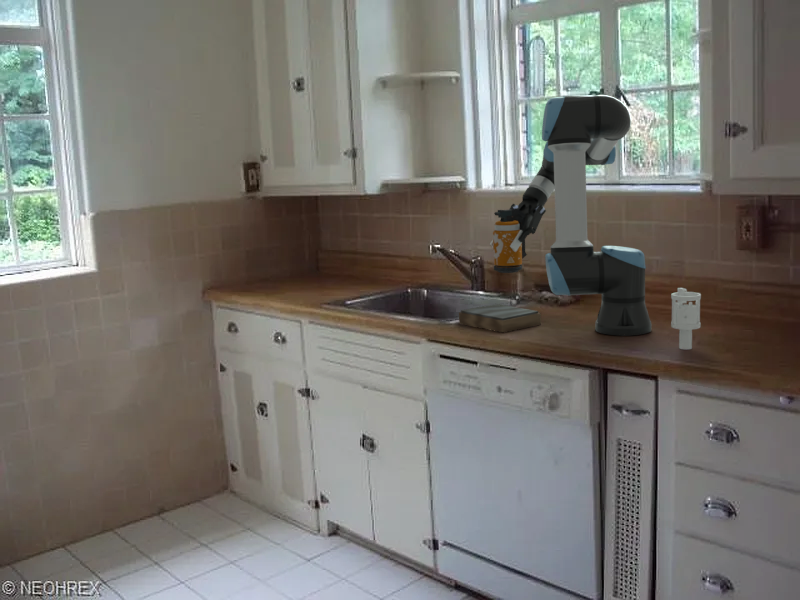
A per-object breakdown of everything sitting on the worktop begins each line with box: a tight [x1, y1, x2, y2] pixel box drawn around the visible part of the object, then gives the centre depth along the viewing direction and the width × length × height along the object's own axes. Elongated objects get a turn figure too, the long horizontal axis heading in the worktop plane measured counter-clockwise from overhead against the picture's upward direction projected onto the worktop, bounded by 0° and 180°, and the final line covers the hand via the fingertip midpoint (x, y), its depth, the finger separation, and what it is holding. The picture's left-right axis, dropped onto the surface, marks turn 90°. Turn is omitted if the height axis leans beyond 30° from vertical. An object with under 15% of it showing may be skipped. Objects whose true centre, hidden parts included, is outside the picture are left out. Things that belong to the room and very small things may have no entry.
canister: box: [492, 208, 528, 274], centre depth 293 cm, size 9×11×20 cm
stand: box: [458, 303, 542, 333], centre depth 273 cm, size 19×15×4 cm
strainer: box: [670, 287, 702, 351], centre depth 233 cm, size 7×7×15 cm
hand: (502, 247), depth 292 cm, fingers closed on canister, 9 cm apart
